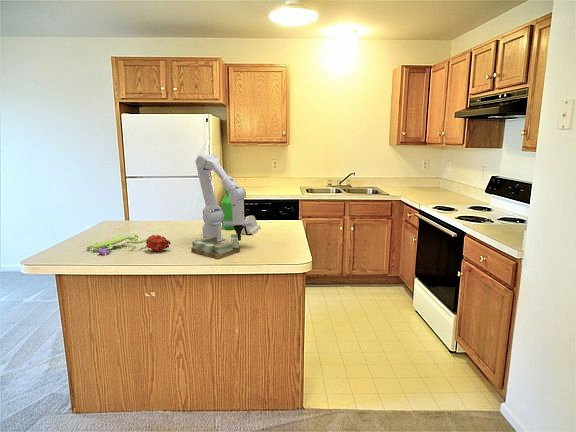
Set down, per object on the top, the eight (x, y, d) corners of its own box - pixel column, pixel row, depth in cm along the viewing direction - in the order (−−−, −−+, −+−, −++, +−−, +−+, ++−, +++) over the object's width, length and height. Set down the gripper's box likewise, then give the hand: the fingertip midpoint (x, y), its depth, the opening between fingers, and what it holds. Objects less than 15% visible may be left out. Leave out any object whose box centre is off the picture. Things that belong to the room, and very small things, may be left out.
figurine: (151, 249, 187) (150, 238, 186) (90, 258, 174) (88, 246, 173) (143, 240, 203) (142, 230, 202) (86, 248, 189) (85, 237, 188)
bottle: (240, 227, 228) (239, 185, 223) (230, 230, 221) (229, 187, 215) (228, 225, 233) (227, 184, 227) (218, 228, 225) (217, 186, 220)
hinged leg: (238, 247, 181) (238, 240, 180) (232, 248, 180) (232, 240, 180) (237, 239, 194) (236, 232, 194) (231, 240, 194) (230, 233, 193)
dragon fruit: (145, 253, 186) (170, 257, 186) (140, 247, 178) (165, 251, 178) (150, 236, 189) (175, 240, 189) (145, 230, 182) (170, 234, 181)
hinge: (252, 235, 211) (246, 218, 210) (244, 238, 212) (238, 220, 211) (261, 228, 227) (255, 212, 226) (253, 230, 228) (248, 214, 227)
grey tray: (191, 251, 183) (190, 241, 181) (213, 244, 194) (213, 235, 192) (218, 259, 172) (217, 248, 171) (240, 251, 183) (239, 241, 182)
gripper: (254, 211, 191) (255, 238, 194) (225, 211, 193) (227, 237, 196) (251, 214, 184) (252, 242, 187) (221, 214, 186) (223, 241, 189)
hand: (239, 240), depth 191 cm, fingers closed, pressing on hinged leg
